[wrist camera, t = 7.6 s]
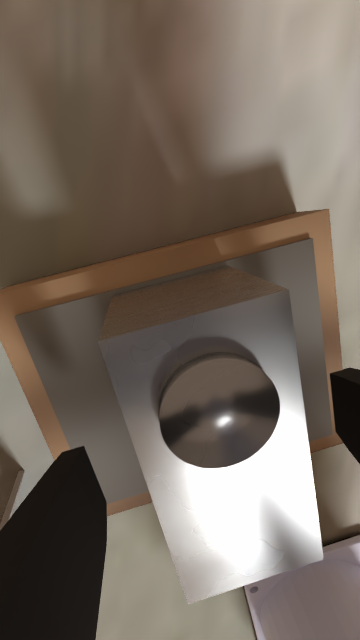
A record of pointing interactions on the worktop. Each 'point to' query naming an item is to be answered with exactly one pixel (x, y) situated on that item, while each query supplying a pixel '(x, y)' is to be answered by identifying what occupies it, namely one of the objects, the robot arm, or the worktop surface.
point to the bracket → (12, 499)
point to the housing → (217, 424)
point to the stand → (143, 270)
